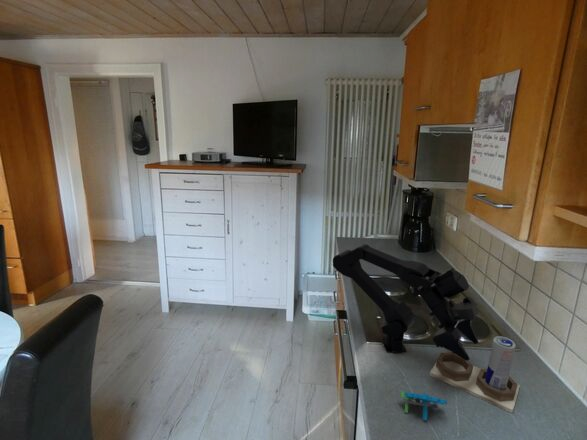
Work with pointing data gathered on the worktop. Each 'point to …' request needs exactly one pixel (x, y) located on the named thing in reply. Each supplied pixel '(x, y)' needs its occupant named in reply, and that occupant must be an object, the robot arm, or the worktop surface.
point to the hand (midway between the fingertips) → (472, 351)
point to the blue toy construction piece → (425, 401)
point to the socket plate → (473, 380)
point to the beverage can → (500, 362)
